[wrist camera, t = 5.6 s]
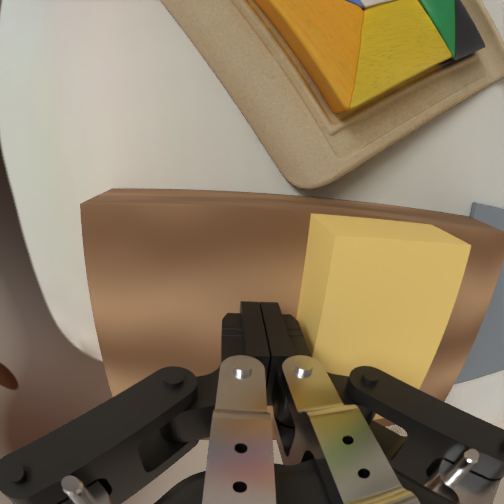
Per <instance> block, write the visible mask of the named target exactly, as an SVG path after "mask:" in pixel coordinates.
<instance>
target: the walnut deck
mask: <svg viewBox="0 0 504 504" xmlns="http://www.w3.org/2000/svg"><path fill="white" fill-rule="evenodd" d="M80 208H81V224H82V236H83V247H84V256H85V265H86V273H87V280H88V287H89V293H90V299H91V305H92V311H93V317H94V322H95V327H96V332H97V337H98V341H99V346H100V350H101V355H102V359H103V363H104V367H105V371H106V375H107V378H108V382H109V386H110V389H111V393H112V396H113V397H114V396H116V395H118V394H119V393H121V392H123V391H124V390H126V389H128V388H129V387H131V386H133V385H134V384H136V383H138V382H139V381H141V380H143V379H144V378H146V377H148V376H149V375H151V374H153V373H154V372H156V371H157V370H159V369H162V368H164V367H170V366H177V367H183V368H186V369H188V370H190V371H191V372H192V373H193V374H194V375H195V376H196V377H197V376H203V375H207V374H210V373H212V372H214V371H215V370H217V369H218V368H219V366H220V365H221V333H222V319H223V318H224V316H225V315H226V314H227V313H240V302H241V301H252V302H259V303H260V302H278V303H279V306H280V309H281V313H282V314H291V315H292V316H293V317H294V318H295V319H296V318H297V311H298V305H299V298H300V292H301V285H302V278H303V271H304V264H305V257H306V249H307V241H308V234H309V226H310V217H311V213H312V214H326V215H338V216H350V217H362V218H373V219H383V220H393V221H403V222H413V223H422V224H431V225H433V226H435V227H437V228H439V229H441V230H443V231H445V232H447V233H449V234H451V235H453V236H455V237H457V238H458V239H460V240H462V241H464V242H466V243H468V244H470V245H471V249H470V253H469V257H468V261H467V264H466V268H465V272H464V275H463V279H462V282H461V285H460V288H459V292H458V295H457V298H456V301H455V304H454V307H453V310H452V313H451V315H450V318H449V321H448V324H447V326H446V329H445V332H444V334H443V337H442V339H441V342H440V344H439V347H438V349H437V351H436V354H435V356H434V358H433V361H432V363H431V365H430V367H429V370H428V372H427V374H426V376H425V378H424V380H423V382H422V385H421V387H420V389H419V390H421V391H423V392H425V393H427V394H429V395H431V396H433V397H435V398H437V399H439V400H441V401H443V402H444V401H445V399H446V397H447V396H448V394H449V392H450V390H451V388H452V386H453V385H454V383H455V381H456V379H457V377H458V375H459V373H460V371H461V369H462V367H463V365H464V363H465V361H466V359H467V357H468V354H469V352H470V350H471V348H472V346H473V343H474V341H475V339H476V337H477V334H478V332H479V329H480V327H481V324H482V322H483V319H484V317H485V314H486V312H487V309H488V306H489V303H490V301H491V298H492V295H493V292H494V289H495V286H496V283H497V280H498V276H499V273H500V270H501V266H502V263H503V259H504V232H503V231H501V230H499V229H497V228H494V227H492V226H490V225H488V224H485V223H483V222H481V221H479V220H476V219H474V218H472V217H468V216H462V215H456V214H449V213H443V212H436V211H429V210H422V209H415V208H408V207H400V206H392V205H384V204H376V203H367V202H358V201H348V200H339V199H328V198H317V197H306V196H293V195H280V194H266V193H250V192H232V191H210V190H181V189H111V190H109V191H106V192H104V193H102V194H100V195H98V196H96V197H94V198H92V199H89V200H87V201H85V202H83V203H81V204H80ZM273 412H274V411H273V406H267V413H270V415H271V425H272V417H273ZM373 421H375V422H377V423H379V424H380V425H382V426H389V425H394V423H392V422H391V421H389V420H387V419H385V418H381V419H376V420H373ZM209 439H210V437H209V438H204V439H200V440H209ZM272 440H276V436H275V433H274V429H273V425H272Z"/></svg>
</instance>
